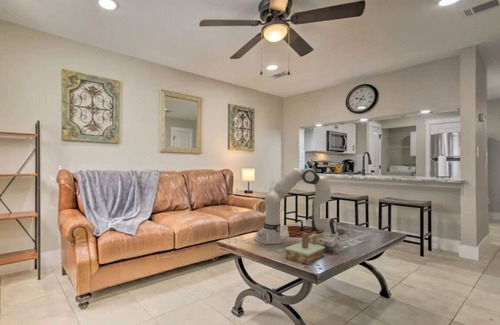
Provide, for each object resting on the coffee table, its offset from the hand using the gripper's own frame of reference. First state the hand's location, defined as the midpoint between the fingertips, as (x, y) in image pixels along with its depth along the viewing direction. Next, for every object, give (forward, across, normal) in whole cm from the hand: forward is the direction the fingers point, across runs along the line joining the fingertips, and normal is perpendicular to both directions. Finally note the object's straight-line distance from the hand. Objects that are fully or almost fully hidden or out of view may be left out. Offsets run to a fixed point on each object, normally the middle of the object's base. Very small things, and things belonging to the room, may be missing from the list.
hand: (314, 242), depth 184 cm
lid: (+13, 0, +1) cm, 13 cm away
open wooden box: (+13, 0, +6) cm, 14 cm away
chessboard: (-47, -30, +7) cm, 57 cm away
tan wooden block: (-1, 0, +6) cm, 7 cm away
